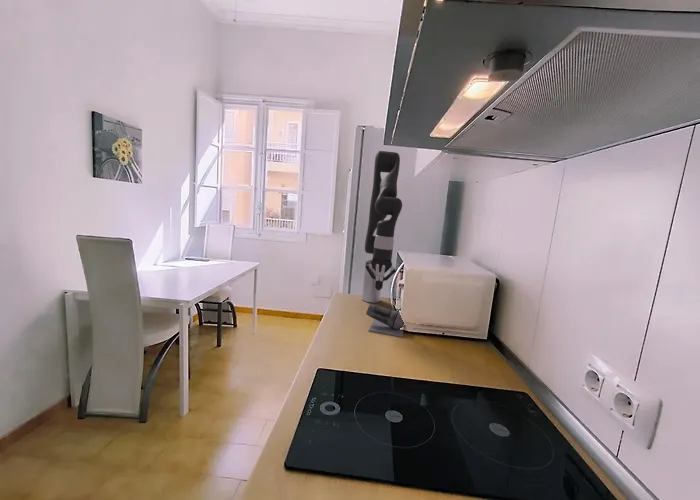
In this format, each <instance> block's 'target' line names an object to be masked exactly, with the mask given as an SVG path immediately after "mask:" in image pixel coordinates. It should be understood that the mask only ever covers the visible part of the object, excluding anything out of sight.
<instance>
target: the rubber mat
mask: <svg viewBox="0 0 700 500" xmlns="http://www.w3.org/2000/svg"><path fill="white" fill-rule="evenodd" d="M368 332H370V333H377V334H380V335H386V336H393V337H399V338H402V337H403V334H404V331H402V330H400V329H392V328H390V327H389V326H387V325H386V324H384V323H382V322H380V321H378V320H376V319H374V318H373V321H372V323H371V325H370V327H368Z"/></svg>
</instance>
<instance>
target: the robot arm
mask: <svg viewBox="0 0 700 500" xmlns="http://www.w3.org/2000/svg"><path fill="white" fill-rule="evenodd" d="M400 163H401V157H400V154H399V153H398V152H395V151H387V150H386V151H385V150H384V151H383V150H378V151H377V152H376V154H375V157H374V168H373V180H372V181H373V182H372V189H371V199H370V204H369V205H370V206H369V214H368V225H367V231H366V236H365V242H364V252H365V253H366V254H369V255H370V254H371V255H372V259H368V260H366V262H365V266H364V267H365V268H364V276H363V286H362V292H361V293H362V294H361V300H362V301H364V302H367V303H374V304H375V303H380V301H381V300H380V299H381V291H382V289H383V286H384V285H383V284H384V282H385V281H388V279H390V278H391V277H392V276H393V275H394V274H395V273H396V272H397V268H395V267H394V266H393V263H392V261H393V260H392V258H393V250H394V242H395V241H394V238H395V237H394V236H395V229H396V224H397V221H398V218H399V216H400V214H401V212H402V208H403V202H402V200H401V199H400V197H397V196H398V185H397V184H398V178H399V172H400ZM381 173H387V174H386V175H385V176H383V178H382V175H381ZM387 216H390V218H389V219H386V218H387ZM385 219H386V220H385ZM374 233H375V235H374ZM388 271H389V273H388V274H387V275H385V274H386V273H387V272H388Z"/></svg>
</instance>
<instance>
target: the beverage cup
mask: <svg viewBox="0 0 700 500" xmlns="http://www.w3.org/2000/svg"><path fill="white" fill-rule="evenodd" d="M365 313H366V314H365V315H367V316H368V317H370V318H372V319H373V320H374V319H376V320H378V321H380V322H382V323H384V324H386V325H387V326H389V327H390V328H392V329H400V328H402V327H403V325H404V322H403V320H402V318H401V315H400V313H401V312H400V311H396V310H392V309H388V308H385V307H381V306H378V305H375V304H369V305H368V308H367V310H366V312H365Z"/></svg>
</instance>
